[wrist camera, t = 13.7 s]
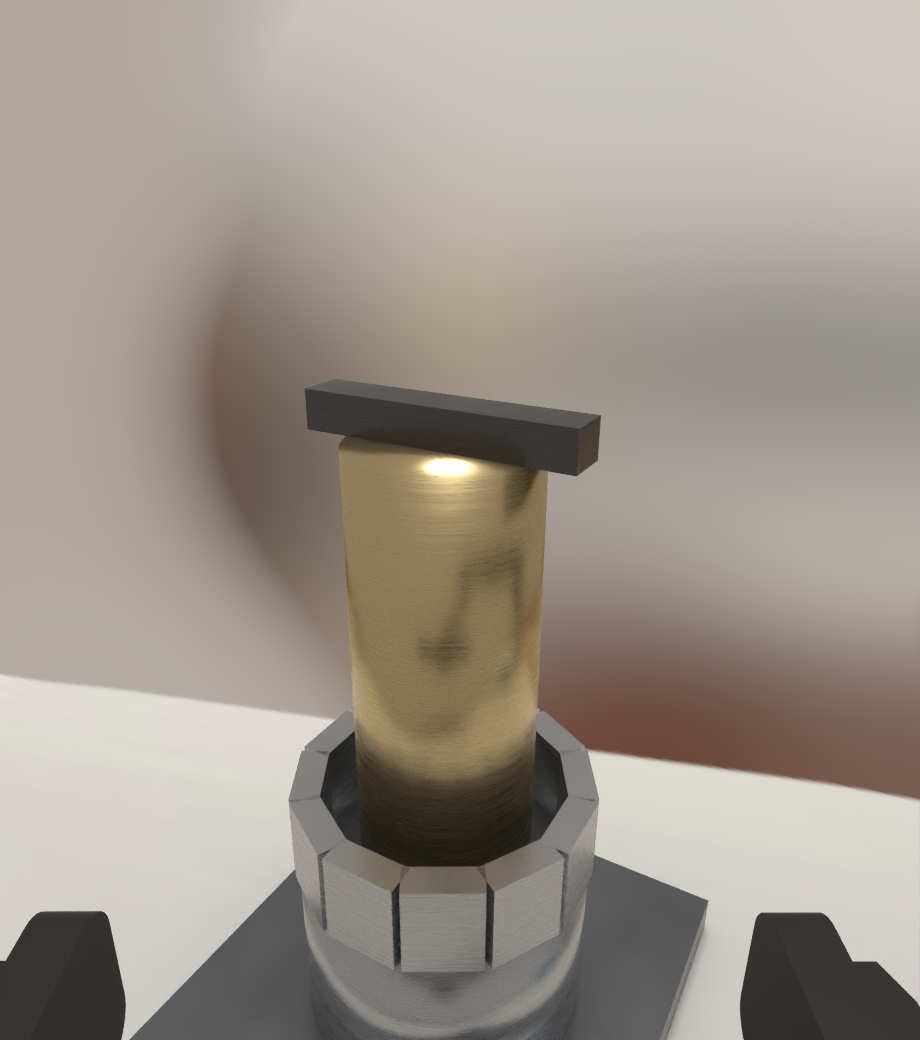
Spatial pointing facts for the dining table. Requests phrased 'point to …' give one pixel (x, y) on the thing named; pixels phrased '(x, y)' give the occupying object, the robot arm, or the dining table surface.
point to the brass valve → (445, 608)
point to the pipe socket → (446, 929)
